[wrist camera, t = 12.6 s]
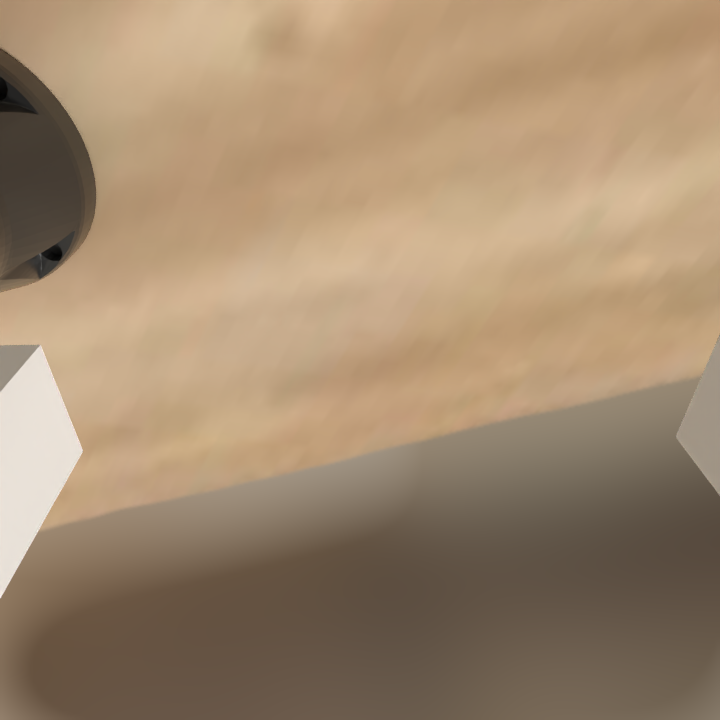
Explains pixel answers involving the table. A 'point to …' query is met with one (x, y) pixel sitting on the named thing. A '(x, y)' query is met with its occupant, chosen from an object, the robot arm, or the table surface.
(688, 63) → the table surface
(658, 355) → the table surface
